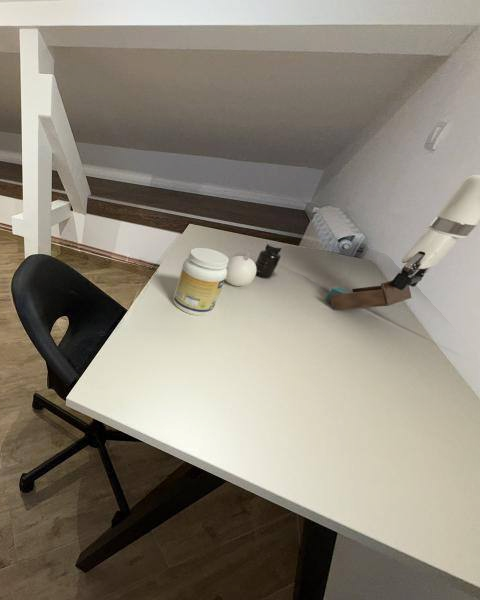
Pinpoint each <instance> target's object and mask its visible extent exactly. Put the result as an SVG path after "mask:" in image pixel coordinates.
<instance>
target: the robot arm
mask: <svg viewBox="0 0 480 600" xmlns="http://www.w3.org/2000/svg"><path fill="white" fill-rule="evenodd" d="M479 223H480V174H472V175H469V176H467V177H466V178H465V179H464V180H463V181H462V182H461V183H460V184H459V185H458V187H457V188H456V189H455V191H454V192H453V193H452V194H451V196H450V197H449V198H448V200H447V201H446V202H445V204H444V205H443V206H442V208H441V209H440V210H439V212H438V213H437V214H435V217H434V218H433V219H432V220H431V221H430V223H429V224H428V226H427V227H426V228H427V229H428V230H427V231H426V232H425V233H423V235H421V237H419V238H418V240H417V241H416V243H415V244H414V245H412V247H410V249H409V251H407V253H406V254H405V255H404V256H403V258H402V259H401V263H402V264H404V265H403V267H402V268H401V269H400V270H399V271H398V273H397V274H396V276H395V277H393V279H392V280H391V281H392V282H391V283H390V285H391V286H393V287H395V288H397V289H399V290H403V289H404V288H405V287H406V286H407V285H408V284H409V282H410V281H411V280H412V279H413V278H411V277H413V276H414V275H420V276H421V277H422V278H424V277H425V275H426V274H427V273H428V271H429V270H430V269H431V268H433V267H435V266H437V265H438V264H439V263H440V262H441V261H442V260H443V259H444V258H445V257H446V255H447V254H448V253H449V252H450V251H451V250H452V248H453V247H454V245H455V244H456V243H457V242H458V241H459V239H466V238H467V237H468V236H469V235H470V233H471V232H472V231H474V229H475V228H476V227H477V225H479ZM418 283H419V282H416V283H413V284H409V287H413V288H414V287H416V286H417V285H418Z"/></svg>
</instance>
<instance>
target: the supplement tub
mask: <svg viewBox="0 0 480 600" xmlns="http://www.w3.org/2000/svg"><path fill="white" fill-rule="evenodd" d="M229 259H230V258H229V257H228V256H227V255H225V253H222V252H220V251H218V250H214V249H212V248H206V247H195V248H192V249H191V250H190V252H189V254H188V257H187V258H186V259H184V260H185V261H184V262H183V263H182V267H181V271H180V274H179V278H178V281H177V284H176V287H175V291H174V293H173V297H172V300H173V303H174V304H175V306H176V307H177V308H178V309H180V310H181V311H183V312H185V313H187V314H188V315H189V314H190V315H194V316H205V315H208V314H210V313H211V312H212V311H213V310H214V308H215V306H216V303H217V301H218V298H219V295H220V293H221V291H222V289H223V286H224V284H225V281H226V280H225V278H226V276H227V269H226V267H227V265H228V261H229Z"/></svg>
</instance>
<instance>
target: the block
mask: <svg viewBox="0 0 480 600" xmlns="http://www.w3.org/2000/svg"><path fill="white" fill-rule="evenodd" d="M344 293H353V291H350V290H349V289H347V288H344V287H342V286H341V285H340V286H335V287H332V288H331V289H330V291H329V292H328V294H327V295H326V297H325V300H326V299H327V300H326V301H327V302H330V303H331V300H330V296H329V295H334V294H344Z"/></svg>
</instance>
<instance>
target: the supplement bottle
mask: <svg viewBox="0 0 480 600" xmlns="http://www.w3.org/2000/svg"><path fill="white" fill-rule="evenodd" d="M282 249H283V247H282V245H280V244H278V243H275V242H268V243H266V246H265V248H264V249H262V250H261V251H260V252H259V254H258V256H257V258H256V261H255V262H254V263H255V265H256V269H257V270H256V275H255V277H258V278H261V279H270V278H272V277H273V274H274V273H275V270H276V269H277V266H278V264H279V262H280V260H281V254H280V253H281V250H282Z"/></svg>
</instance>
